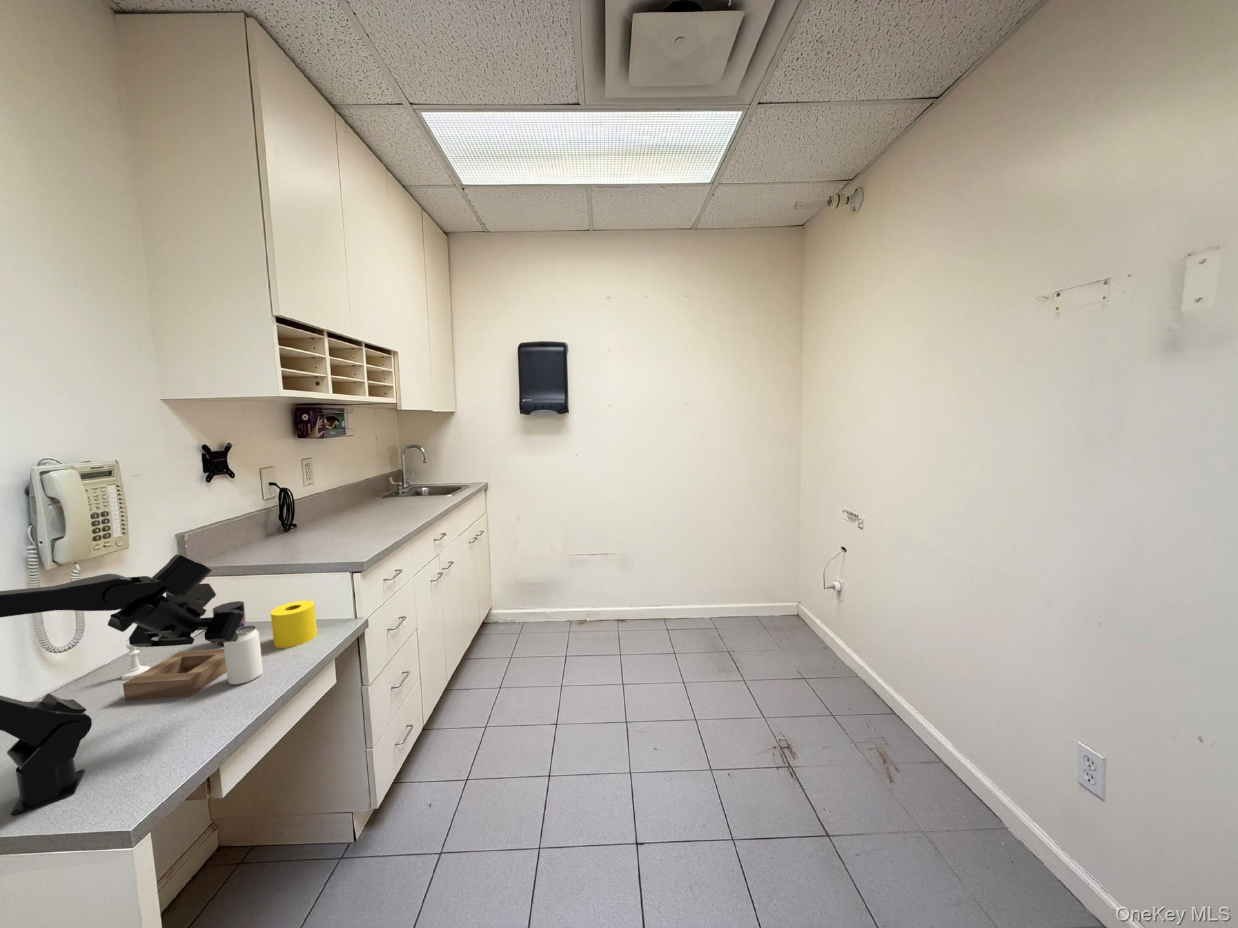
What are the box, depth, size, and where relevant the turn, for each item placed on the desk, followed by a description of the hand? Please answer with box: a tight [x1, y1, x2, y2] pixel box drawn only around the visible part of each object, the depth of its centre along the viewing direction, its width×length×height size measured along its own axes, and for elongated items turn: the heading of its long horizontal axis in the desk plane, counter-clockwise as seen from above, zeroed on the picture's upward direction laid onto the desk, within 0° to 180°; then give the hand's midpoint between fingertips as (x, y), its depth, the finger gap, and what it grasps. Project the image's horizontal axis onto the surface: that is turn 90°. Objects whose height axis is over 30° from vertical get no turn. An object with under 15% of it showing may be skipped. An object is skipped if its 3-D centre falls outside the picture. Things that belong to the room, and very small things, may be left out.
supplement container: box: [212, 600, 247, 646], centre depth 124 cm, size 7×7×10 cm
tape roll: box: [270, 600, 318, 649], centre depth 124 cm, size 10×10×9 cm
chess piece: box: [121, 635, 150, 681], centre depth 108 cm, size 5×5×10 cm
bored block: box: [122, 648, 227, 702], centre depth 105 cm, size 14×14×4 cm
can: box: [223, 625, 264, 686], centre depth 105 cm, size 6×6×12 cm
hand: (214, 640), depth 97 cm, fingers open, 9 cm apart
